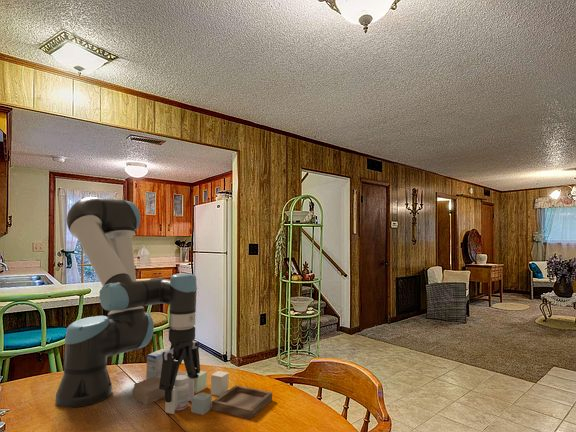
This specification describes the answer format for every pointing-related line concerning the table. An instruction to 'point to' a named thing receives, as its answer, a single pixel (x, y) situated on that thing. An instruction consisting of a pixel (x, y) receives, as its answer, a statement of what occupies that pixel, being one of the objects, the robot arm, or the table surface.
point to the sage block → (200, 381)
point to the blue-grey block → (201, 403)
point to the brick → (150, 389)
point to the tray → (242, 401)
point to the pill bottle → (181, 392)
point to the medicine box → (154, 363)
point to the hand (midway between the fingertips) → (180, 406)
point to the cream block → (219, 383)
